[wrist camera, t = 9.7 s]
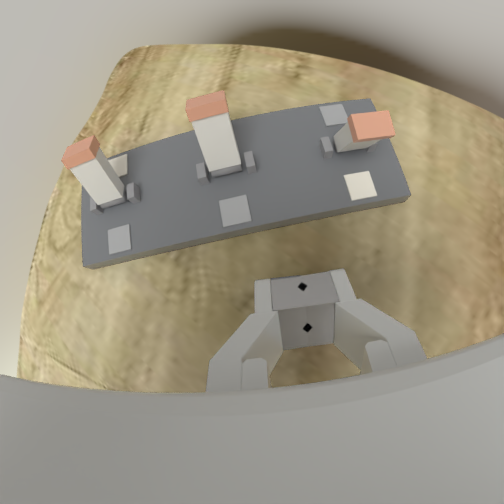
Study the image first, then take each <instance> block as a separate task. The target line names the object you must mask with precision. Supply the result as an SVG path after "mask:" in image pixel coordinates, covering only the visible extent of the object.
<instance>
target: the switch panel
mask: <svg viewBox="0 0 504 504" xmlns="http://www.w3.org/2000/svg"><path fill="white" fill-rule="evenodd" d="M367 112H377V111H376V109H375V107H374V105H373V103H372V101H371V99H360V100H350V101H341V102H333V103H325V104H318V105H311V106H304V107H298V108H292V109H286V110H280V111H275V112H270V113H265V114H260V115H255V116H250V117H245V118H241V119H236V120H232V121H231V124H232V127H233V131H234V135H235V139H236V142H237V146H238V150H239V154H240V159H241V167H242V171H239V172H234V173H230V174H226V175H222V176H217V177H212V174H211V171H210V172H209V170H208V167H207V164H206V161H205V159H204V156H203V153H202V150H201V147H200V145H199V142H198V139H197V136H196V133H195V130H193V131H189V132H186V133H182V134H179V135H175V136H172V137H169V138H165V139H162V140H159V141H156V142H153V143H150V144H146V145H143V146H140V147H138V148H135V149H132V150H129V151H126V152H123V153H120V154H118V155H115V156H112V157H110V158H107V160H108V161H109V163H110V164H111V166H112V168H113V169H114V171H115V172H116V174H117V175H118V177H119V178H120V180H121V181H122V183H123V184H124V189H125V190H126V192H127V199H128V200H127V201H126V202H123V203H120V204H117V205H114V206H111V207H107V208H104V209H103V208H101V206H100V205H97V203H96V202H95V201H94V200H93V198H92V197H91V196H90V195H89V193H88V192H87V191H86V189H85V188H84V187H83V186H82V208H81V226H82V257H83V267H86V268H90V269H97V268H101V267H105V266H110V265H114V264H118V263H122V262H126V261H131V260H135V259H139V258H144V257H148V256H152V255H156V254H161V253H165V252H169V251H174V250H178V249H183V248H187V247H191V246H196V245H200V244H205V243H209V242H214V241H218V240H223V239H227V238H232V237H236V236H241V235H246V234H250V233H255V232H260V231H264V230H269V229H274V228H278V227H283V226H288V225H292V224H297V223H302V222H307V221H312V220H316V219H321V218H326V217H331V216H336V215H341V214H346V213H351V212H356V211H361V210H366V209H371V208H376V207H381V206H386V205H391V204H397V203H402V202H405V201H406V200H407V199H408V198H409V197H410V196H411V193H410V190H409V187H408V185H407V182H406V179H405V176H404V174H403V171H402V169H401V166H400V163H399V161H398V158H397V156H396V154H395V151H394V149H393V146H392V144H391V142H390V139H389V138H387V139H382V140H380V141H378V142H376V143H375V144H373V145H371V146H369V147H367V148H364V149H357V150H350V151H344V152H336V151H335V149H334V146H333V138H334V137H333V136H334V135H335V134H336V133H337V132H338V131H339V130H340V129H341V128H342V127H343V126H344V125H345V124H346V123H347V122H348V121H347V118H348V117H349V116H350V115H351V114H357V113H367Z"/></svg>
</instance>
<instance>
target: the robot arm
mask: <svg viewBox="0 0 504 504" xmlns="http://www.w3.org/2000/svg"><path fill="white" fill-rule="evenodd" d="M254 295H255V313H254V314H250V315H249V316H248V317H247V318H246V320H245V321H244V322H243V323H242V324H241V325H240V327H239V328H238V329H237V330H236V331H235V332H234V333H233V335H232V336H231V337H230V338H229V339H228V340H227V342H226V343H225V344H224V345H223V346H222V347H221V348H220V350H219V351H218V352H217V353H216V354H215V355H214V356H213V357H212V359H211V360H210V361H209V369H208V377H207V386H206V392H194V393H159V392H130V391H113V390H100V389H90V388H80V387H71V386H63V385H56V384H49V383H43V382H37V381H31V380H25V379H20V378H15V377H11V376H7V375H0V504H504V333H503V334H501V335H498V336H496V337H493V338H490V339H488V340H485V341H482V342H479V343H476V344H474V345H471V346H468V347H465V348H462V349H459V350H456V351H452V352H449V353H446V354H443V355H439V356H436V357H432V358H429V359H427V357H426V355H425V353H424V351H423V348H422V346H421V344H420V342H419V340H418V338H417V336H416V334H415V332H414V331H413V330H411V329H410V328H408V327H406V326H405V325H403V324H402V323H400V322H398V321H397V320H395V319H393V318H392V317H390V316H389V315H387V314H385V313H384V312H382V311H380V310H379V309H377V308H376V307H374V306H372V305H371V304H369V303H367V302H366V301H364V300H363V299H357V298H356V296H355V293H354V291H353V288H352V286H351V283H350V281H349V279H348V276H347V274H346V271H345V270H344V269H343V268H342V269H336V270H331V271H328V272H321V273H314V274H307V275H297V276H288V277H279V278H270V279H262V280H255V283H254ZM332 343H334V345H335V346H336V347H337V348H338V349H339V350H340V351H341V352H342V353H343V354H344V355H345V356H346V357H348V358H349V359H350V360H351V361H352V362H353V363H354V364H355V365H356V366H357V367H358V368H359V369H360V370H361V371H360V375H356V376H351V377H346V378H340V379H334V380H328V381H322V382H315V383H308V384H301V385H293V386H284V387H275V388H272V385H271V380H270V374H271V372H272V370H273V369H274V367H275V365H276V364H277V362H278V360H279V358H280V357H281V355H282V353H283V350H289V349H295V348H302V347H308V346H316V345H324V344H332Z"/></svg>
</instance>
